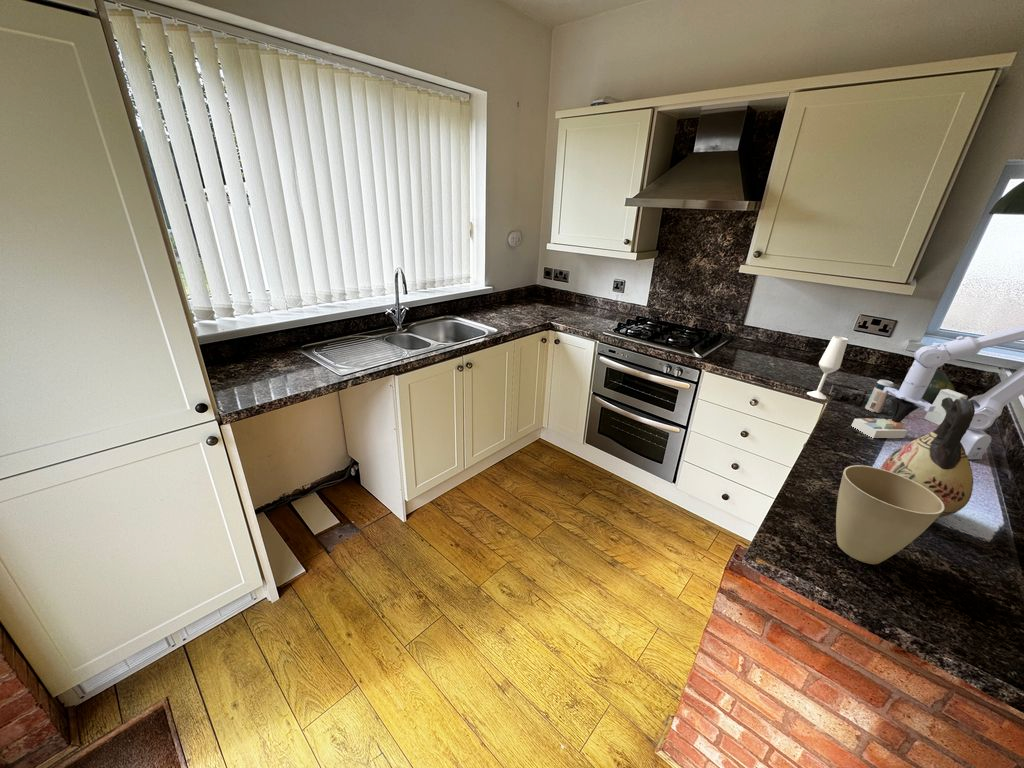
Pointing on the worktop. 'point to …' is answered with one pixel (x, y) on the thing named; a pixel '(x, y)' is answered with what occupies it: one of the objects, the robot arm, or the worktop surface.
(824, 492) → the worktop surface
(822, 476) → the worktop surface
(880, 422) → the sage key
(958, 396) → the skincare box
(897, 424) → the terracotta key
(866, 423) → the slate blue key
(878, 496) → the plant pot
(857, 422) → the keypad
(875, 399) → the beige capped bottle
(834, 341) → the champagne flute
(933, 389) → the squash
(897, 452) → the ceramic jug
